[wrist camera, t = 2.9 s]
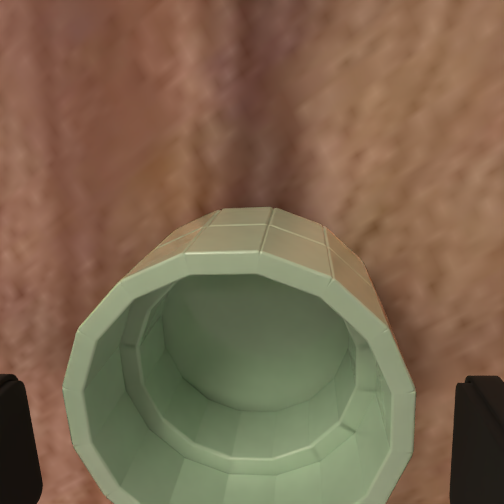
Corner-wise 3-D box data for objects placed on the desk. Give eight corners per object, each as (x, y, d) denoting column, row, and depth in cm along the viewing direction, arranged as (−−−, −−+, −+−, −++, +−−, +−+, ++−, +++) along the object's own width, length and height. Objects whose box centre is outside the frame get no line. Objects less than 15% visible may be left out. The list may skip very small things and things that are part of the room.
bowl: (124, 207, 13) (36, 256, 9) (381, 198, 13) (423, 247, 8) (152, 424, 15) (91, 551, 11) (377, 428, 14) (409, 567, 10)
